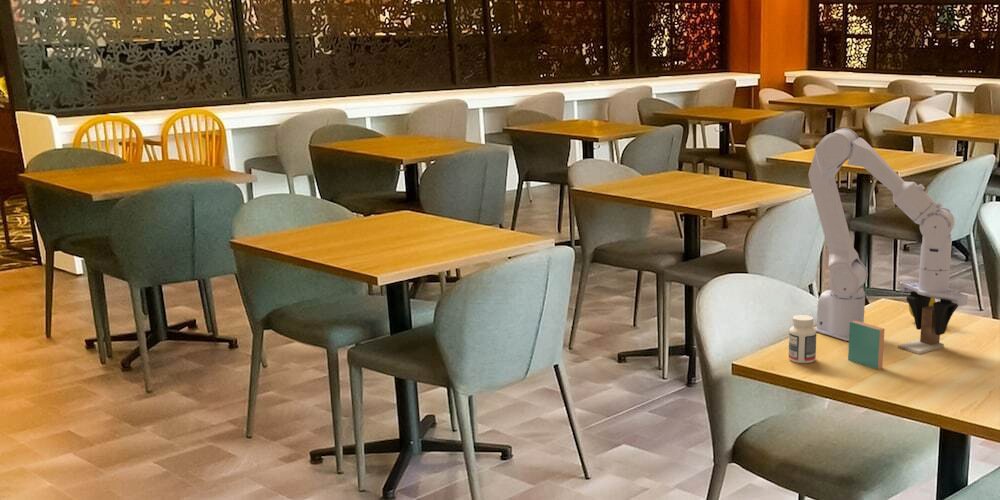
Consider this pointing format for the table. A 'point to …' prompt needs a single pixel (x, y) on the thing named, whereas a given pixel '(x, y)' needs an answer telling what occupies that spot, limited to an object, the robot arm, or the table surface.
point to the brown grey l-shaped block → (925, 334)
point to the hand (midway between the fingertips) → (930, 331)
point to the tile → (866, 344)
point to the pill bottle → (802, 340)
